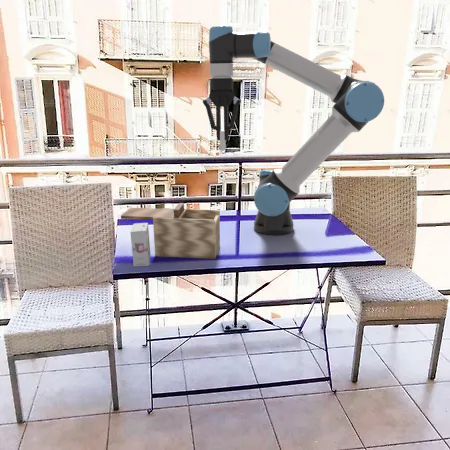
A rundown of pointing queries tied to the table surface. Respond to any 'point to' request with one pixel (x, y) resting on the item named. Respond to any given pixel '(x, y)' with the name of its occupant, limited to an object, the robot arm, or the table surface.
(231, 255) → the table surface
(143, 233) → the ink box
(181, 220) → the box
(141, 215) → the lid
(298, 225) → the table surface
